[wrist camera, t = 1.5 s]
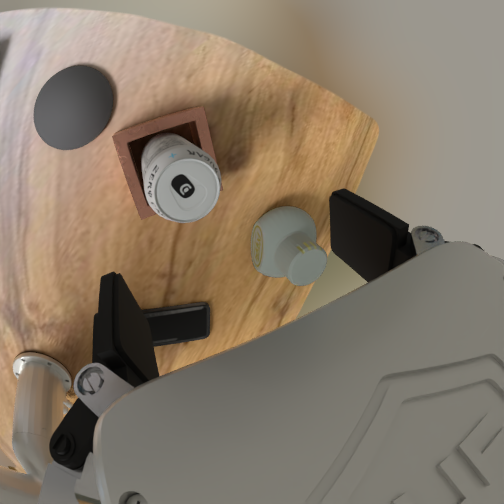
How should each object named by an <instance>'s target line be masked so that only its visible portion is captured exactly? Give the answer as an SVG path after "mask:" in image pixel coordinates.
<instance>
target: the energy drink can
mask: <svg viewBox="0 0 504 504" xmlns="http://www.w3.org/2000/svg"><path fill="white" fill-rule="evenodd" d="M141 165H142V174H143V182H144V190H145V195H146V199H147V201H148V203H149V205H150V207H151V208H152V209H153V210H154V212H156V213H157V214H158V215H159V216H161V217H163V218H165V219H167V220H171V221H175V222H180V223H189V222H193V221H197V220H199V219H201V218H203V217H204V216H206V215H207V214H208V213H209V212H210V211H211V210H212V209H213V207H214V206H215V205H216V202H217V200H218V198H219V194H220V188H221V174H220V170H219V168H218V165H217V164H216V162H215V160H214V159H213V158H212V157H211V156H210V155H209V154H207V153H206V152H204V151H203V150H201V149H200V148H198V147H197V146H195V145H194V144H192V143H190V142H189V141H187V140H186V139H184V138H183V137H181V136H179V135H177V134H174V133H162V134H159V135H156V136H154V137H153V138H152V139H150V140H149V141H148V142H147V143H146V145H145V147H144V149H143V151H142V155H141Z"/></svg>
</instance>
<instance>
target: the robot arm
mask: <svg viewBox="0 0 504 504" xmlns="http://www.w3.org/2000/svg"><path fill="white" fill-rule="evenodd" d="M329 204H330V235H331V249H332V251H333V252H334V253H335V254H336V255H337V256H338V257H339V258H341V259H342V260H343V261H344V262H345V263H346V264H348V265H349V266H350V267H351V268H352V269H353V270H355V271H356V272H357V273H358V274H359V275H360V276H361V277H362V278H364V279H365V280H366V281H367V282H368V283H366V284H364V285H363V286H361V287H359V288H357V289H355V290H353V291H351V292H349V293H347V294H346V295H344V296H342V297H340V298H338V299H336V300H334V301H332V302H330V303H328V304H326V305H324V306H322V307H320V308H318V309H316V310H314V311H312V312H310V313H308V314H306V315H304V316H302V317H300V318H297V319H295V320H293V321H291V322H289V323H287V324H284V325H282V326H280V327H278V328H276V329H273V330H271V331H269V332H267V333H265V334H262V335H260V336H258V337H256V338H253V339H251V340H249V341H246V342H244V343H242V344H239V345H237V346H235V347H232V348H230V349H227V350H225V351H222V352H220V353H218V354H215V355H213V356H210V357H208V358H205V359H203V360H200V361H198V362H195V363H192V364H190V365H187V366H185V367H182V368H180V369H177V370H175V371H172V372H170V373H167V374H165V375H162V376H160V377H159V372H158V367H157V363H156V358H155V352H154V347H153V342H152V336H151V330H150V326H149V323H148V321H147V319H146V317H145V315H144V314H143V312H142V310H141V309H140V307H139V305H138V304H137V302H136V300H135V299H134V297H133V295H132V293H131V292H130V290H129V288H128V286H127V284H126V282H125V281H124V279H123V277H122V275H121V274H120V273H119V274H116V273H115V272H111V273H109V274H106V275H104V276H102V277H101V282H100V293H99V307H98V313H96V314H95V315H94V325H93V355H92V363H91V364H88V365H86V366H84V367H83V368H82V369H81V370H80V371H79V372H78V374H77V375H76V378H75V380H74V391H75V393H76V395H77V396H78V399H77V400H76V402H75V403H74V404H72V403H71V402H70V401H69V400H67V399H66V392H68V391H69V390H70V388H71V376H70V374H69V372H68V371H67V369H66V368H65V367H64V366H63V365H62V364H60V363H59V362H58V361H56V360H54V359H53V358H51V357H48V356H46V355H43V354H39V353H33V352H28V353H22V354H20V355H18V356H17V357H16V358H15V360H14V363H13V371H14V374H15V376H16V377H17V379H18V383H17V389H16V397H15V406H14V416H13V431H12V446H13V450H14V453H15V455H16V457H17V459H18V461H19V463H20V464H21V465H22V467H23V468H24V470H25V471H26V473H27V474H24V473H19V472H16V471H14V470H11V469H8V468H5V467H3V466H0V504H504V260H502V259H500V258H497V257H494V256H491V255H489V254H488V253H486V252H485V251H484V250H483V249H482V248H481V247H480V246H478V245H476V244H470V243H468V242H461V241H457V242H456V241H455V242H447V241H444V239H443V237H442V235H441V233H440V232H438V231H437V230H436V229H434V228H431V227H428V226H418V227H415V228H413V230H412V231H411V233H410V232H408V228H409V224H407V223H405V222H404V221H402V220H400V219H399V218H397V217H395V216H394V215H392V214H390V213H389V212H387V211H385V210H383V209H381V208H380V207H378V206H376V205H374V204H373V203H371V202H369V201H367V200H365V199H364V198H362V197H360V196H358V195H356V194H354V193H352V192H350V191H348V190H347V189H340V190H337V191H334V192H333V193H332V195H331V196H330V198H329ZM68 407H69V408H71V409H70V410H69V411H68ZM67 412H68V413H67ZM63 413H64V414H66V413H67V414H66V416H65V417H64V419H63ZM140 494H141V495H140ZM139 501H140V502H139Z"/></svg>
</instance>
